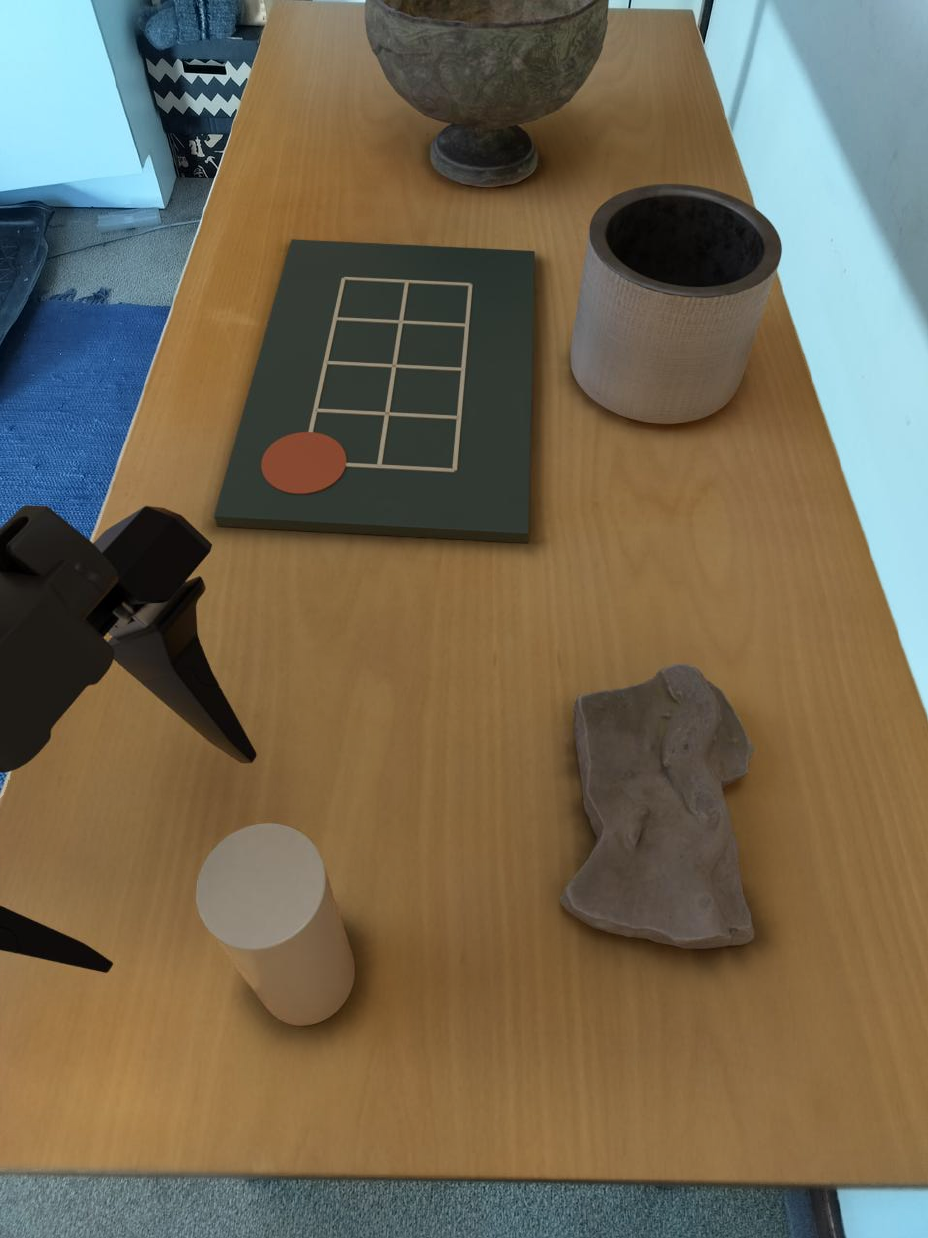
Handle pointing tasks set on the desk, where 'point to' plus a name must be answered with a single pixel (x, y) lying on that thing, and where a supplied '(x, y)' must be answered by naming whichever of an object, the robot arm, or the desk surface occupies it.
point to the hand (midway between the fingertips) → (183, 856)
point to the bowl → (486, 73)
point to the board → (390, 396)
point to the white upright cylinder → (278, 921)
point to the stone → (661, 812)
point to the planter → (671, 301)
